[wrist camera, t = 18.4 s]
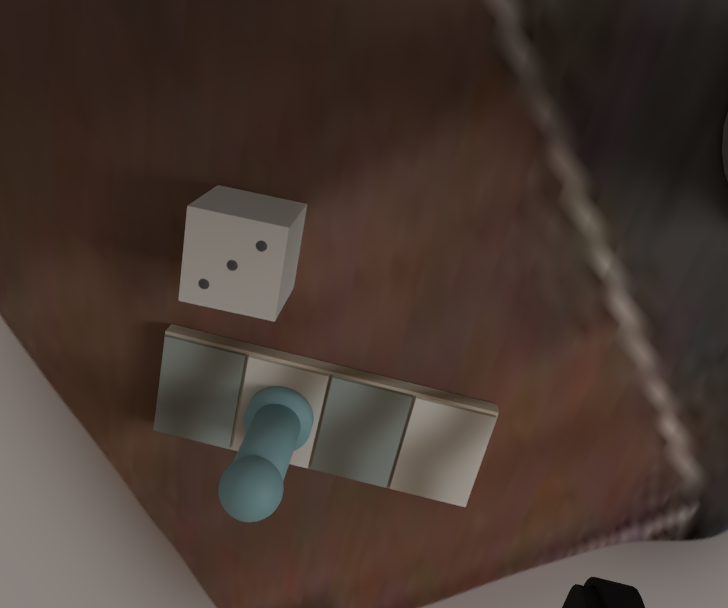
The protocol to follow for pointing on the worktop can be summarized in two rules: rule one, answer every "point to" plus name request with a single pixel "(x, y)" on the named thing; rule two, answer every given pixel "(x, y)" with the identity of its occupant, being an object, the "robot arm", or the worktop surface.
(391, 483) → the board
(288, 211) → the die
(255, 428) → the pawn
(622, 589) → the robot arm
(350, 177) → the worktop surface
